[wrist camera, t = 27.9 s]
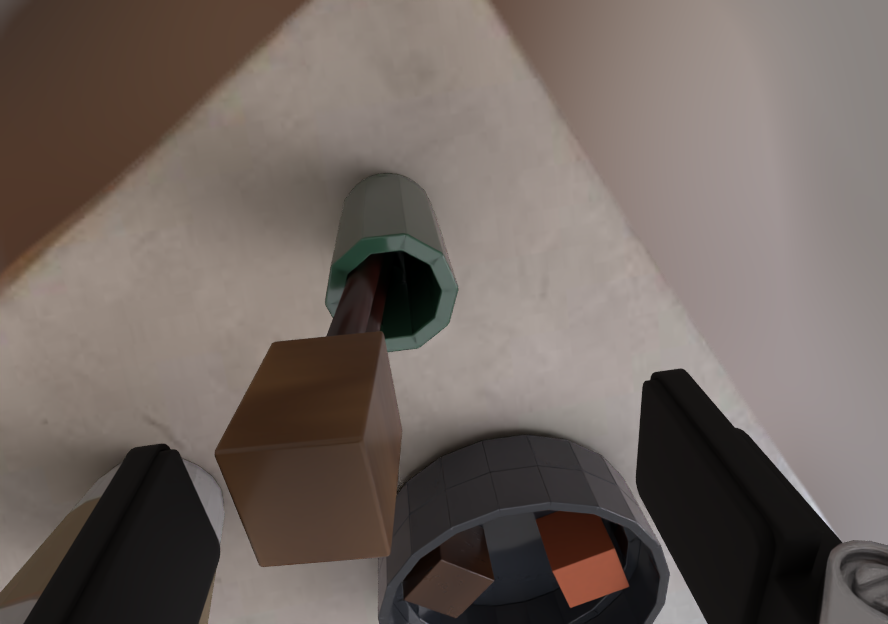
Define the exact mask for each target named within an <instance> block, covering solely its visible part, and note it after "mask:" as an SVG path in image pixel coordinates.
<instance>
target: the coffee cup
mask: <svg viewBox="0 0 888 624" xmlns="http://www.w3.org/2000/svg"><path fill="white" fill-rule="evenodd" d="M182 460H183V462H184V464H185V467H186V469H187V471H188V473H189V476H190V478H191V480H192V482H193V484H194V487H195V489H196V491H197V493H198V495H199V498H200V500H201V502H202V504H203V506H204V509H205V511H206V513H207V515H208V517H209V520H210V522H211V524H212V526H213V529H214V531H215V533H216V535H217V537H218V540H219V543H220V542H221V535H222V529H223V523H224V516H225V513H224V509H223V504H224V501H223V496H222V491H221V488H220V487H219V485H218V484H217V482H216V481H215V480H214V478H213V477H212V476H211V475H210V474H209V473H207V472H206V471H205V470H203V469H202V468H201V467H200V466H198V465H196V464H193V463H191V462H189V461H186V460H184V459H182ZM121 464H122V462H121V463H120V464H118V465H117V466H115V467H114V468H113V469H111V470H110V471H109V472H108V473H107V474H105V475H104V476H103V477H101V478H100V479H98V480H97V481H96V482H95V484H94V485H93V486H92V487H91V488H90V489H89V491H88V492H87V493H86V494H85V495H84V496H83V498H82V499H81V500H80V501H79V502H78V503H77V504H76V506H75V507H74V508H73V509H72V510H71V511H70V513H69V514H68V515H67V516H66V517H65V518H64V520H63V521H62V522H61V523H60V524H59V525H58V526H57V528H56V529H55V530H54V531H53V532H52V533H51V535H50V536H49V537H48V538H47V539H46V540H45V542H44V543H43V544H42V545H41V546H40V547H39V548H38V550H37V551H36V552H35V553H34V554H33V555H32V557H31V558H30V559H29V560H28V561H27V562H26V564H25V565H24V566H23V567H22V568H21V569H20V570H19V572H18V573H17V574H16V575H15V576H14V577H13V579H12V580H11V581H10V582H9V583H8V584H7V586H6V587H5V588H4V589H3V590H2V591H1V592H0V624H23V623H24V622H25V620H26V618H27V617H28V615H29V613H30V612H31V610H32V609H33V607H34V605H35V604H36V602H37V600H38V599H39V597H40V596H41V594H42V592H43V591H44V589H45V587H46V586H47V584H48V583H49V581H50V579H51V578H52V576H53V574H54V573H55V571H56V570H57V568H58V566H59V565H60V563H61V561H62V560H63V558H64V556H65V555H66V553H67V552H68V550H69V548H70V547H71V545H72V543H73V542H74V540H75V539H76V537H77V535H78V534H79V532H80V530H81V529H82V527H83V526H84V524H85V522H86V521H87V519H88V517H89V516H90V514H91V513H92V511H93V509H94V508H95V506H96V504H97V503H98V501H99V500H100V498H101V496H102V495H103V493H104V491H105V490H106V488H107V486H108V485H109V483H110V482H111V480H112V478H113V477H114V475H115V473H116V472H117V470H118V469H119V467H120V465H121ZM215 574H216V571H215ZM215 574H214V577H213V581H212V584H211V587H210V590H209V593H208V596H207V599H206V602H205V605H204V609H203V612H202V615H201V618H200V621H199V624H208V618H209V612H210V606H211V599H212V593H213V587H214V580H215Z"/></svg>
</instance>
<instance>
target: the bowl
mask: <svg viewBox="0 0 888 624" xmlns="http://www.w3.org/2000/svg"><path fill="white" fill-rule="evenodd" d="M557 511H565V512H575V513H586V514H594V515H597V516H599V517H601V520H602V522H603V524H604V526H605V528H606V530H607V533H608V535H609V537H610V539H611V541H612V543H613V546H614V548H615V550H616V553H617V555H618V558H619V561H620V563H621V566H622V568H623V571H624V573H625V576H626V579H627V581H628V584H629V587H627V588H624V589H622V590H619V591H616V592H613V593H610V594H608V595H605V596H602V597H599V598H597V599H594V600H591V601H588V602H585V603H583V604H580V605H577V606H574V607H572V608H570V607H569V605H568V602H567V600H566V598H565V596H564V594H563V592H562V590H561V588H560V586H559V584H558V582H557V580H556V578H555V576H554V574H553V572H552V569H551V566H550V563H549V560H548V557H547V554H546V551H545V547H544V544H543V541H542V538H541V535H540V532H539V529H538V526H537V523H536V519H538V518H541V517H544V516H546V515H549V514H552V513H554V512H557ZM476 526H480V527H482V528H483V529H484V533H485V538H486V542H487V547H488V552H489V556H490V561H491V566H492V571H493V575H494V582H493V583H492V584H491V585H490V586H489V587H488V588H487V589H486V590H485V591H484V592H483V593H482V594H481V595H480V596H479V597H478V598H477V599H476V600H475V601H474V602H473V603H472V604H471V605H470V606H469V607H468V608H467V609H466V610H465V611H464V612H463V613H462V614H461V615H460V616H459V617H458V618H454V617H451V616H448V615H445V614H442V613H439V612H436V611H434V610H431V609H428V608H425V607H422V606H419V605H417V604H414V603H411V602H408V601H405V600H404V597H403V580H404V578H405V577H406V576H407V575H408V573H409V572H410V571H411V570H412V568H413V567H414V566H415V565H416V563H417V562H418V561H419V560H420V558H422V557H423V556H425V555H426V554H428V553H429V552H431V551H432V550H434V549H435V548H436V547H438V546H439V545H441V544H442V543H444V542H445V541H447V540H448V539H450V538H451V537H452V536H454V535H455V534H457V533H460V532H462V531H465V530H468V529H470V528H473V527H476ZM669 576H670V572H669V569H668V566H667V563H666V560H665V557H664V554H663V550H662V547H661V545H660V543H659V541H658V539H657V538H656V536H655V534H654V532H653V530H652V529H651V527H650V525H649V523H648V521H647V519H646V518H645V516H644V514H643V512H642V510H641V509H640V507H639V505H638V503H637V501H636V500H635V498H634V496H633V494H632V492H631V490H630V489H629V487H628V485H627V483H626V481H625V480H624V478H623V477H622V476H621V475H620V474H619V473H618V471H617V470H616V469H615V468H614V467H613V466H612V465H611V464H610V463H609V462H608V461H607V460H606V459H605V458H604V457H603V456H602V455H600V454H598V453H595V452H593V451H591V450H589V449H587V448H584V447H582V446H580V445H578V444H575V443H573V442H571V441H569V440H565V439H557V438H549V437H541V436H533V435H519V436H512V437H504V438H497V439H489V440H483V441H480V442H477V443H475V444H472V445H470V446H467V447H464V448H462V449H459V450H457V451H454V452H452V453H449V454H447V455H444V456H442V457H441V458H439V459H437V460H436V461H434V462H433V463H432V464H430V465H429V466H428V467H426V468H425V469H424V470H422V471H421V472H420V473H418V474H417V475H415V476H414V477H413V478H411V479H410V480H409V481H407V482H406V484H405V485H404V486H403V488H402V489H401V490H400V492H399V493H398V495H397V496H396V503H395V514H394V524H393V535H392V545H391V553H390V555H389V556H387V557H378V620H379V624H653V622H654V620H655V619H656V617H657V616H658V614H659V612H660V611H661V609H662V607H663V606H664V604H665V600H666V594H667V588H668V582H669Z"/></svg>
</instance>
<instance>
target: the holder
mask: <svg viewBox="0 0 888 624" xmlns="http://www.w3.org/2000/svg"><path fill="white" fill-rule="evenodd" d="M394 251H396V252H395V257H394V262H393V267H392V272H391V277H390V282H389V287H388V292H387V297H386V302H385V307H384V312H383V317H382V322H381V327H380V331H382V332H383V334H384V337H385V342H386V348H387V352H393V351H401V350H409V349H417V348H419V347H421V346H422V345H424V344H425V343H426V342H427V341H429V340H430V339H431V338H432V337H434V336H435V335H436V334H437V333H439V332H440V331H441V330H442V329H444V328H445V327H446V326H447V325H448V324H449V322H450V319H451V315H452V312H453V308H454V304H455V301H456V297H457V293H458V285H457V281H456V278H455V275H454V272H453V269H452V265H451V262H450V259H449V256H448V253H447V249H446V246H445V243H444V240H443V237H442V234H441V230H440V227H439V224H438V221H437V218H436V215H435V213H434V210H433V208H432V206H431V203H430V200H429V198H428V196H427V194H426V192H425V191H424V189H422V188H421V187H420V186H419V185H418V184H417V183H415V182H414V181H412V180H411V179H409V178H407V177H404V176H402V175H398V174H392V173H383V174H377V175H373V176H370V177H368V178H366V179H364V180H362V181H361V182H360V183H358V184H357V185H356V186H355V187H354V188H353V189H352V191H351V192H350V193H349V195H348V196H347V197H346V198H345V200H344V205H343V210H342V214H341V219H340V224H339V229H338V233H337V238H336V243H335V248H334V253H333V257H332V262H331V267H330V273H329V280H328V286H327V292H326V299H325V305H326V307H327V309H328V310H329V312H330V314H331V316H332V317H334V315H335V312H336V309H337V307H338V304H339V301H340V298H341V296H342V293H343V290H344V288H345V285H346V282H347V279H348V277H349V274H350V272H351V271H352V270H353V269H354V268H356V267H357V266H358V265H359V264H360V263H361V262H362V261H364V260H365V259H366V258H367V257H368V256H369V255H370V254H376V253H385V252H394Z"/></svg>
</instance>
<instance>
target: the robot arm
mask: <svg viewBox="0 0 888 624" xmlns="http://www.w3.org/2000/svg"><path fill="white" fill-rule="evenodd" d="M636 485H637V489H638V492H639V495H640V497H641V499H642V501H643V503H644V505H645V507H646V508H647V510H648V512H649V514H650V516H651V518H652V520H653V522H654V523H655V525H656V527H657V529H658V531H659V533H660V535H661V537H662V539H663V540H664V542H665V544H666V546H667V548H668V550H669V552H670V554H671V556H672V557H673V559H674V561H675V563H676V565H677V567H678V569H679V571H680V572H681V574H682V576H683V578H684V580H685V582H686V584H687V586H688V588H689V589H690V591H691V593H692V595H693V597H694V599H695V601H696V603H697V605H698V606H699V608H700V610H701V612H702V614H703V616H704V618H705V620H706V622H707V623H708V624H888V545H884V544H880V543H876V542H872V541H858V540H853V541H849V542H845V543H842V542H841V540H840V539H839V538H838V537H837V536H836V535H835V534H834V532H833V531H832V530H831V529H830V528H829V527H828V526H827V524H826V523H825V522H824V521H823V520H822V519H821V518H820V516H819V515H818V514H817V513H816V512H815V511H814V510H813V508H812V507H811V506H810V505H809V504H808V503H807V502H806V500H805V499H804V498H803V497H802V496H801V495H800V494H799V492H798V491H797V490H796V489H795V488H794V487H793V486H792V484H791V483H790V482H789V481H788V480H787V479H786V478H785V476H784V475H783V474H782V473H781V472H780V471H779V470H778V468H777V467H776V466H775V465H774V464H773V463H772V462H771V460H770V459H769V458H768V457H767V456H766V455H765V454H764V452H763V451H762V450H761V449H760V448H759V447H758V446H757V444H756V443H755V442H754V441H753V440H752V439H751V438H750V436H749V435H748V434H746V433H745V432H744V431H743V430H741V429H738V428H735V427H734V426H733V425H732V424H731V423H730V422H729V420H728V419H727V418H726V417H725V416H724V415H723V413H722V412H721V411H720V410H719V409H718V408H717V406H716V405H715V404H714V403H713V402H712V401H711V399H710V398H709V397H708V396H707V395H706V394H705V392H704V391H703V390H702V389H701V388H700V387H699V385H698V384H697V383H696V382H695V381H694V380H693V378H692V377H691V376H690V375H689V374H688V372H686V371H685V370H684V369H674V370H667V371H660V372H654V373H653V374H652V376H651V379H650V380H649V381H645V382H644V383H643V388H642V402H641V415H640V429H639V442H638V455H637V469H636ZM219 558H220V543H219V540H218V537H217V535H216V533H215V531H214V529H213V526H212V524H211V522H210V520H209V517H208V515H207V513H206V511H205V509H204V506H203V504H202V502H201V500H200V498H199V495H198V493H197V491H196V489H195V487H194V484H193V482H192V480H191V478H190V476H189V473H188V471H187V469H186V467H185V464H184V462H183V460H182V458H181V456H180V454H179V452H178V451H177V450H174V449H173V450H171V449H170V448H169V446H167V445H166V444H156V445H149V446H142V447H135V448H133V449H131V450H130V451H129V453H128V454H127V456H126V457H125V459H124V460H123V462H122V464H121V465H120V467H119V469H118V470H117V472H116V473H115V475H114V477H113V478H112V480H111V482H110V483H109V485H108V486H107V488H106V490H105V491H104V493H103V495H102V496H101V498H100V500H99V501H98V503H97V504H96V506H95V508H94V509H93V511H92V513H91V514H90V516H89V517H88V519H87V521H86V522H85V524H84V526H83V527H82V529H81V530H80V532H79V534H78V535H77V537H76V539H75V540H74V542H73V543H72V545H71V547H70V548H69V550H68V552H67V553H66V555H65V556H64V558H63V560H62V561H61V563H60V565H59V566H58V568H57V570H56V571H55V573H54V574H53V576H52V578H51V579H50V581H49V583H48V584H47V586H46V587H45V589H44V591H43V592H42V594H41V596H40V597H39V599H38V600H37V602H36V604H35V605H34V607H33V609H32V610H31V612H30V613H29V615H28V617H27V618H26V620H25V622H24V623H23V624H199V621H200V618H201V615H202V612H203V609H204V605H205V602H206V599H207V596H208V593H209V590H210V587H211V584H212V581H213V577H214V574H215V571H216V568H217V565H218V562H219Z"/></svg>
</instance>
